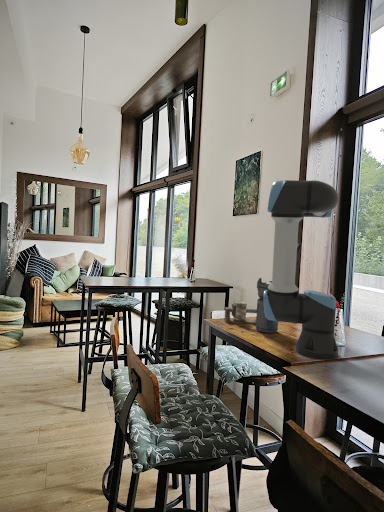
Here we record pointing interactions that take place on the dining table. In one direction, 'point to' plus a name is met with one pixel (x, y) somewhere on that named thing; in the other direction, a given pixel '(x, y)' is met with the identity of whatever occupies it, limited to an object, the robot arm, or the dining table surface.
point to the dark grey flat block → (234, 310)
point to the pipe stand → (228, 320)
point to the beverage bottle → (261, 319)
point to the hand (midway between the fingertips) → (286, 276)
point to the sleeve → (240, 310)
